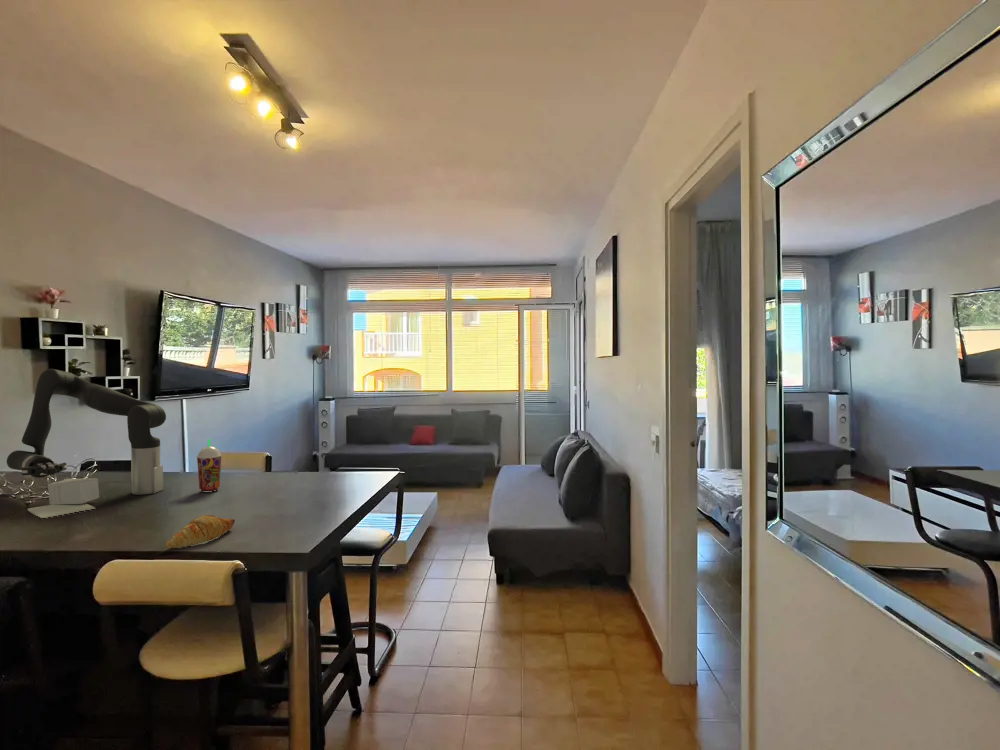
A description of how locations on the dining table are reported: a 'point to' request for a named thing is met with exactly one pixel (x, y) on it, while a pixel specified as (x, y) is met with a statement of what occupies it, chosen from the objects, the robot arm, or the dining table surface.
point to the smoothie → (209, 468)
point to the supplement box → (73, 491)
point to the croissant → (200, 531)
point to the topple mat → (59, 509)
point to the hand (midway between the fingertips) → (52, 471)
